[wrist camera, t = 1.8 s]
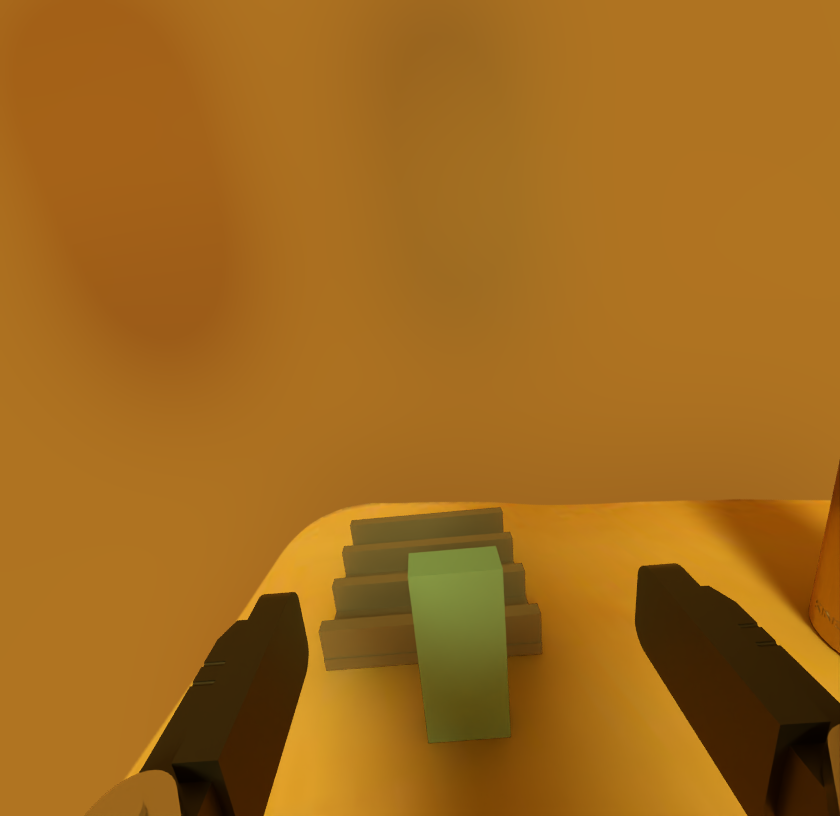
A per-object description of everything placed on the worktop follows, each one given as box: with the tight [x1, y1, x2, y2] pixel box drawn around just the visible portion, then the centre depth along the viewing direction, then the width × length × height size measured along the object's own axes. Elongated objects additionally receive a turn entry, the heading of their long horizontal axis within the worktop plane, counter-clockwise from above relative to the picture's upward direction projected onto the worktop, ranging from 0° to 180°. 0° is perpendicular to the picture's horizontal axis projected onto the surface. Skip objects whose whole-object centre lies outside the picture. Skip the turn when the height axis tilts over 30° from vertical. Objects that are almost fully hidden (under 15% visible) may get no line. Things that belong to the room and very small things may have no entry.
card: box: [408, 546, 511, 743], centre depth 24 cm, size 5×2×12 cm, turn 91°
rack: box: [319, 507, 542, 671], centre depth 37 cm, size 16×15×4 cm
